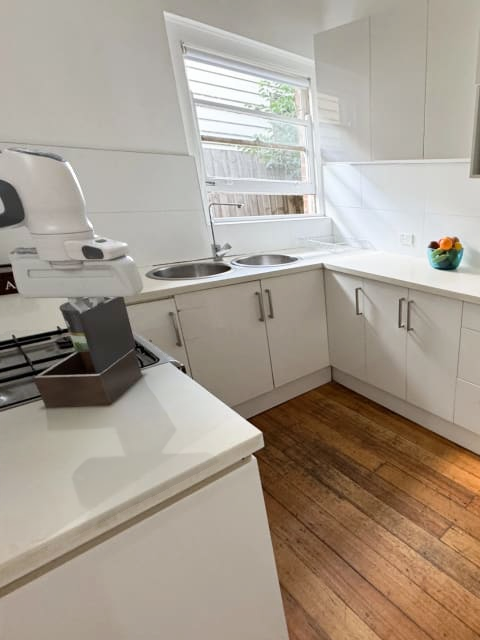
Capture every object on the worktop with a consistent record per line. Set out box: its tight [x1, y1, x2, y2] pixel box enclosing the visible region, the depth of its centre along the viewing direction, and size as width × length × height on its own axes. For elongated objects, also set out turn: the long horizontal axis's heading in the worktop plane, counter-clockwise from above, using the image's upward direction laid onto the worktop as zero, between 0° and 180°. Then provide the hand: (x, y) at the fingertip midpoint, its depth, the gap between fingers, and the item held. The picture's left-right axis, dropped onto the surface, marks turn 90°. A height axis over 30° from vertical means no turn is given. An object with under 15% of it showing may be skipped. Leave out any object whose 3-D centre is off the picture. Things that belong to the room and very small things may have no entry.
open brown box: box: [32, 348, 143, 409], centre depth 80 cm, size 12×13×7 cm
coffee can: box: [58, 297, 112, 352], centre depth 94 cm, size 10×10×14 cm
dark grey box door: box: [78, 297, 137, 374], centre depth 77 cm, size 12×13×1 cm
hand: (92, 317), depth 75 cm, fingers closed
